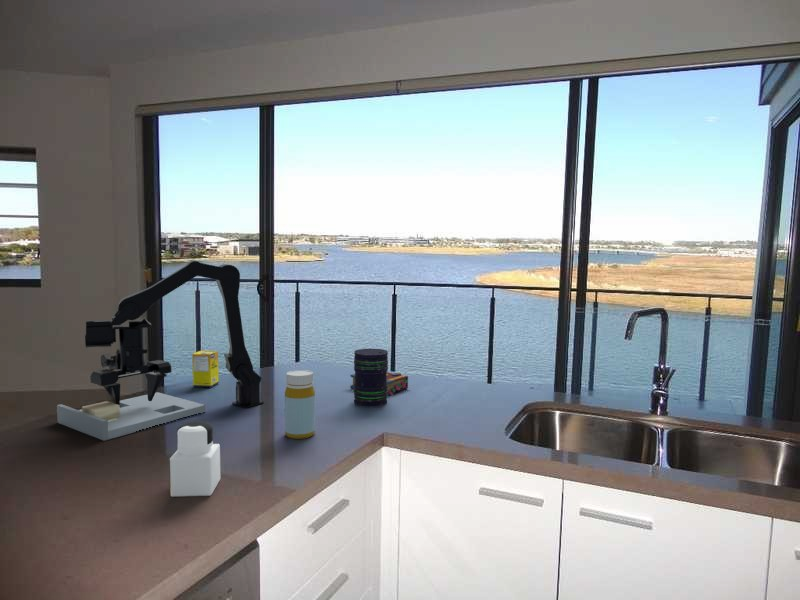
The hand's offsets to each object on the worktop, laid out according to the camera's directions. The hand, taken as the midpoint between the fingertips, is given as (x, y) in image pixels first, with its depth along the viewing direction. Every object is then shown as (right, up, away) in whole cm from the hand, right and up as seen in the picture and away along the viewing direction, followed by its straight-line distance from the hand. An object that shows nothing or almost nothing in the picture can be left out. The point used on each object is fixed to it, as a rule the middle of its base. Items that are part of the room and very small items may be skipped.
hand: (133, 404), depth 140 cm
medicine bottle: (+32, -8, -40) cm, 52 cm away
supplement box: (+7, -1, +34) cm, 34 cm away
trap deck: (0, -3, +1) cm, 3 cm away
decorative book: (+63, -2, +33) cm, 71 cm away
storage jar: (+61, -3, +17) cm, 63 cm away
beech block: (-5, -2, -7) cm, 9 cm away
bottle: (+45, -5, -11) cm, 47 cm away
